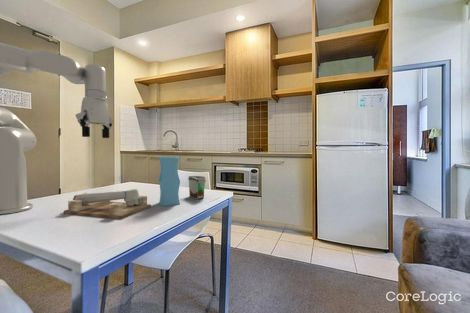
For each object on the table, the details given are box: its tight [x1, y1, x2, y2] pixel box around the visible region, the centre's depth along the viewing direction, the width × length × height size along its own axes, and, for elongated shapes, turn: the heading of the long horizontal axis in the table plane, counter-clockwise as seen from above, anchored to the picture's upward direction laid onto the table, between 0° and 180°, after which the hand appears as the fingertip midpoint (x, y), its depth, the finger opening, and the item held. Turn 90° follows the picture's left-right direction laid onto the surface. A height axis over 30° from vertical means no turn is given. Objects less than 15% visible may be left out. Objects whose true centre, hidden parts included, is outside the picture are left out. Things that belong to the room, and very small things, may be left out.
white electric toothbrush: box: [72, 188, 143, 206], centre depth 85 cm, size 5×7×25 cm
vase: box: [158, 156, 181, 207], centre depth 96 cm, size 8×8×20 cm
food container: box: [188, 175, 207, 201], centre depth 108 cm, size 12×6×10 cm, turn 34°
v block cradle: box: [63, 195, 152, 220], centre depth 85 cm, size 25×16×4 cm, turn 76°
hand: (96, 137), depth 93 cm, fingers open, 9 cm apart
